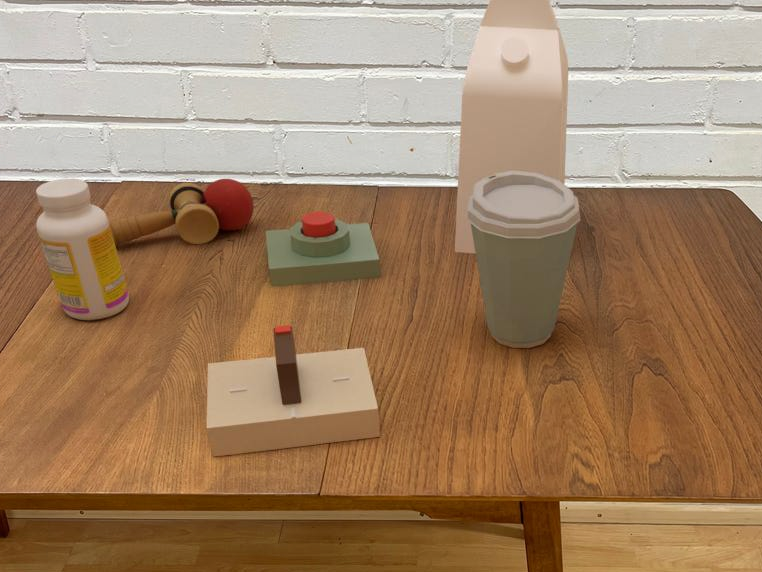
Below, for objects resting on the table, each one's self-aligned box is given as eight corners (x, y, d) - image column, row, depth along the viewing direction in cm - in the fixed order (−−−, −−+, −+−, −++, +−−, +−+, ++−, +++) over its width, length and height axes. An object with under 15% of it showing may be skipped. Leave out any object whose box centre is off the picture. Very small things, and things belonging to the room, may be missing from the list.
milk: (563, 219, 112) (581, -12, 95) (556, 259, 103) (574, 12, 87) (469, 213, 113) (470, -17, 97) (454, 252, 104) (453, 6, 88)
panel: (212, 457, 74) (205, 427, 72) (213, 390, 82) (207, 361, 80) (380, 437, 76) (378, 407, 74) (366, 374, 84) (363, 345, 82)
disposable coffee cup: (592, 335, 90) (608, 191, 80) (517, 374, 84) (524, 223, 75) (518, 298, 96) (524, 159, 86) (443, 332, 90) (441, 187, 81)
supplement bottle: (128, 288, 97) (97, 170, 88) (133, 316, 92) (101, 195, 84) (62, 298, 95) (24, 179, 86) (64, 327, 90) (24, 204, 82)
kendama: (114, 275, 102) (266, 229, 106) (91, 220, 98) (248, 175, 102) (111, 258, 108) (254, 215, 112) (89, 207, 104) (237, 165, 109)
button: (304, 240, 98) (302, 225, 97) (302, 227, 101) (300, 212, 100) (337, 238, 99) (335, 223, 98) (334, 224, 101) (332, 210, 100)
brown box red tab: (301, 402, 75) (295, 359, 72) (282, 405, 75) (275, 361, 72) (297, 365, 79) (291, 323, 77) (279, 367, 79) (272, 325, 76)
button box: (271, 287, 97) (266, 253, 95) (267, 248, 105) (263, 215, 102) (380, 277, 99) (378, 244, 97) (369, 239, 107) (367, 207, 104)
